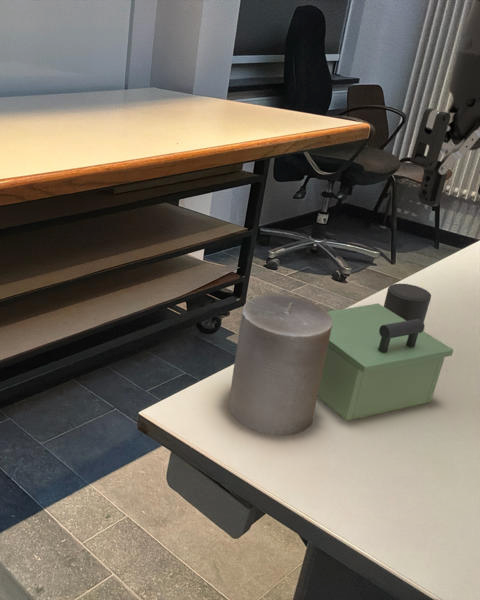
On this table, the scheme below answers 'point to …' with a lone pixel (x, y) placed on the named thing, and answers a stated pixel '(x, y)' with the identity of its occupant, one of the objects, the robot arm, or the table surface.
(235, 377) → the pillar candle
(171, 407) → the table surface
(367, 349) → the lid
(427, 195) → the robot arm
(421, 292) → the dark grey cylinder
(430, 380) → the bread box
